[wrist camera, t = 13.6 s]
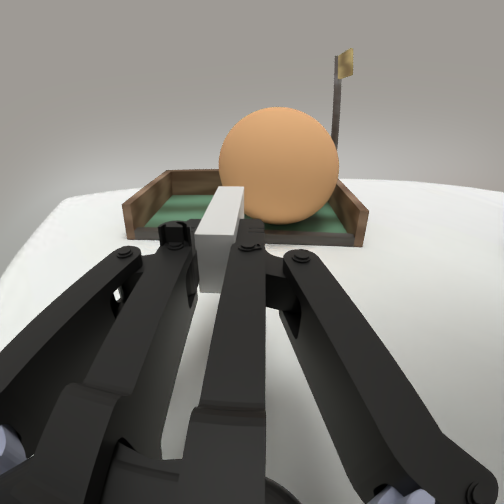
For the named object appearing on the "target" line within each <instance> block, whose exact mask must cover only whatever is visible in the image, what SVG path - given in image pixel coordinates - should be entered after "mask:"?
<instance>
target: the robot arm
mask: <svg viewBox="0 0 504 504" xmlns="http://www.w3.org/2000/svg"><path fill="white" fill-rule="evenodd" d="M158 234H159V240H160V247H159V248H158V250H157V252H156V253H155V254H151V255H145V256H142V255H141V250H140V249H139V248H138V247H135V246H123V247H121V248H119V249H117V250H115V251H113V252H112V253H111V254H109V255H108V256H107V257H106V258H104V259H103V260H102V261H101V262H99V263H98V264H97V265H96V266H94V267H93V268H92V269H91V270H89V271H88V272H87V273H86V274H84V275H83V276H82V277H81V278H80V279H78V280H77V281H76V282H75V283H74V284H73V285H71V286H70V287H69V288H68V289H67V290H66V291H64V292H63V293H62V294H61V295H60V296H59V297H58V298H56V299H55V300H54V301H53V302H52V303H51V304H50V305H49V306H47V307H46V308H45V309H44V310H43V311H42V312H41V313H40V314H39V315H38V316H37V317H36V318H34V319H33V320H32V321H31V322H30V323H29V324H28V325H27V326H26V327H25V328H24V329H23V330H22V331H21V332H20V333H19V334H18V335H17V336H16V337H15V338H14V339H13V340H12V341H11V342H10V343H9V344H8V345H7V346H6V347H5V348H4V349H3V350H2V351H1V352H0V504H301V503H300V502H299V501H298V500H297V499H296V498H295V497H294V496H293V495H292V494H291V493H290V492H289V491H288V490H286V489H285V488H284V487H283V486H281V485H280V484H278V483H276V482H275V481H273V480H271V479H269V478H267V477H265V462H266V412H265V335H266V307H269V308H273V309H277V310H279V316H280V318H281V321H282V323H283V325H284V328H285V330H286V333H287V335H288V337H289V340H290V342H291V344H292V347H293V349H294V351H295V354H296V356H297V358H298V361H299V363H300V366H301V368H302V370H303V373H304V375H305V377H306V380H307V382H308V384H309V387H310V389H311V391H312V394H313V396H314V399H315V401H316V403H317V406H318V408H319V410H320V413H321V415H322V417H323V420H324V422H325V425H326V427H327V429H328V432H329V434H330V436H331V439H332V441H333V443H334V446H335V448H336V450H337V453H338V455H339V458H340V460H341V462H342V465H343V467H344V469H345V472H346V474H347V476H348V478H349V480H350V482H351V484H352V486H353V488H354V490H355V491H356V492H357V494H358V495H359V497H360V498H361V500H362V501H363V502H364V503H365V504H495V502H496V500H497V497H498V483H497V480H496V478H495V476H494V475H493V474H492V473H491V472H490V471H489V470H488V469H486V468H485V467H484V466H483V465H481V464H480V463H479V462H478V461H476V460H475V459H474V458H473V457H471V456H470V455H469V454H468V453H466V452H465V451H464V450H463V449H462V448H460V447H459V446H458V445H457V444H455V443H454V442H453V441H452V440H450V439H449V438H448V437H447V436H446V435H444V434H443V433H442V432H441V430H440V429H439V427H438V425H437V424H436V422H435V420H434V419H433V417H432V416H431V414H430V413H429V411H428V409H427V408H426V406H425V405H424V403H423V402H422V400H421V399H420V397H419V395H418V394H417V392H416V391H415V389H414V388H413V386H412V385H411V383H410V382H409V380H408V379H407V377H406V376H405V374H404V373H403V371H402V370H401V368H400V367H399V366H398V364H397V363H396V361H395V360H394V358H393V357H392V355H391V354H390V353H389V351H388V350H387V348H386V347H385V345H384V344H383V343H382V341H381V340H380V338H379V337H378V336H377V334H376V333H375V331H374V330H373V329H372V327H371V326H370V324H369V323H368V322H367V320H366V319H365V318H364V316H363V315H362V313H361V312H360V311H359V309H358V308H357V307H356V305H355V304H354V303H353V301H352V300H351V299H350V297H349V296H348V295H347V293H346V292H345V291H344V289H343V288H342V287H341V285H340V284H339V283H338V281H337V280H336V279H335V278H334V276H333V275H332V274H331V272H330V271H329V270H328V269H327V267H326V266H325V265H324V263H323V262H322V261H321V260H320V258H319V257H318V256H317V255H316V254H315V253H313V252H310V251H308V250H304V249H299V250H296V249H295V250H291V251H288V252H286V253H285V255H284V256H283V258H280V257H276V256H273V255H271V254H269V253H268V252H267V251H266V250H265V235H264V223H263V222H262V221H261V220H260V219H244V187H239V186H219V187H218V189H217V191H216V192H215V194H214V196H213V198H212V200H211V202H210V204H209V206H208V208H207V210H206V212H205V214H204V216H203V218H202V219H189V220H187V221H180V220H175V221H169V222H165V223H163V224H161V225H159V226H158ZM198 284H199V288H200V292H201V293H221V295H220V300H219V305H218V310H217V315H216V320H215V325H214V330H213V335H212V340H211V345H210V350H209V355H208V360H207V365H206V371H205V376H204V381H203V386H202V392H201V397H200V402H199V405H198V407H195V408H194V409H193V411H192V413H191V417H190V421H189V426H188V431H187V436H186V442H185V447H184V452H183V458H182V459H172V460H162V451H161V436H162V432H163V428H164V424H165V420H166V415H167V411H168V407H169V403H170V399H171V395H172V391H173V387H174V384H175V380H176V376H177V372H178V368H179V365H180V361H181V357H182V353H183V350H184V346H185V343H186V339H187V335H188V332H189V328H190V325H191V321H192V318H193V314H194V311H195V307H196V304H197V300H198V295H197V287H198ZM117 289H118V290H119V294H120V297H121V298H120V299H119V300H117V301H116V300H115V297H114V294H113V293H114V291H115V290H117ZM33 454H34V456H32V455H33ZM31 456H32V457H31ZM28 458H29V459H28Z"/></svg>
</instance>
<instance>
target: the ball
mask: <svg viewBox="0 0 504 504" xmlns="http://www.w3.org/2000/svg"><path fill="white" fill-rule="evenodd" d="M338 174H339V160H338V154H337V150H336V147H335V144H334V142H333V140H332V138H331V136H330V135H329V133H328V132H327V131H326V130H325V128H324V127H323V126H322V125H321V124H320V123H319V122H318V121H316V120H315V119H314V118H312V117H311V116H309V115H307V114H305V113H303V112H301V111H298V110H295V109H291V108H285V107H271V108H265V109H261V110H258V111H255V112H253V113H251V114H249V115H247V116H246V117H244V118H243V119H241V120H240V121H239V122H238V123H237V124H235V126H234V127H233V128H232V129H231V131H230V132H229V133H228V135H227V137H226V138H225V140H224V143H223V145H222V148H221V151H220V156H219V175H220V179H221V183H222V186H239V187H244V214H246V215H247V216H249V217H251V218H253V219H260V220H261V221H262V222H264V223H268V224H275V225H285V224H291V223H296V222H299V221H302V220H304V219H307V218H308V217H310V216H312V215H313V214H315V213H316V212H317V211H319V210H320V209H321V208H322V207H323V206H324V205H325V203H326V202H327V201H328V200H329V198H330V197H331V195H332V193H333V191H334V189H335V186H336V183H337V180H338Z"/></svg>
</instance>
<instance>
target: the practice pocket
mask: <svg viewBox="0 0 504 504" xmlns="http://www.w3.org/2000/svg"><path fill="white" fill-rule="evenodd" d="M351 75H353V49H352V48H350V49H349V50H347V51H346V52H344V53H342V54H341V55H339V56H335V73H334V99H333V101H334V102H333V118H332V133H331V138H332V140H333V142H334V144H335V147H336V150H337V145H338V133H339V117H340V101H341V79H342V78H345V77H348V76H351ZM219 186H222V183H221V179H220V175H219V169H195V170H166V171H165V172H164V173H162V174H161V175H160V176H158V177H157V178H155V179H154V180H153V181H151V182H150V183H149V184H147V185H146V186H145V187H143V188H142V189H141V190H139V191H138V192H137V193H136V194H134V195H133V196H132V197H131V198H129V199H128V200H127V201H126V202H124V203H123V204H122V209H123V216H124V222H125V228H126V234H127V239H139V240H159V234H158V226H159V225H161V224H163V223H165V222H169V221H175V220H180V221H187V220H189V219H202V218H203V216H204V214H205V212H206V210H207V208H208V206H209V204H210V202H211V200H212V198H213V196H214V194H215V192H216V191H217V189H218V187H219ZM368 215H369V210H368V209H367V208H366V207H365V206H364V205H363V204H362V203H361V202H360V201H359V200H358V199H357V198H356V197H355V195H354V194H353V193H352V192H351V191H350V190H349V189H348V188H347V187H346V186H345V185H344V184H343V183H342V182H341V181H340V180H339V179H338V180H337V183H336V186H335V189H334V191H333V193H332V195H331V197H330V198H329V200H328V201H327V202H326V203H325V205H324V206H323V207H322V208H321V209H320V210H319V211H317V212H316V213H315V214H313V215H312V216H310V217H308V218H307V219H304V220H302V221H299V222H296V223H291V224H285V225H275V224H268V223H264V222H263V223H264V235H265V243H276V244H303V245H329V246H354V247H362V245H363V241H364V236H365V231H366V226H367V220H368ZM244 219H253V218H251V217H249V216H247V215H246V214H244Z"/></svg>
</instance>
